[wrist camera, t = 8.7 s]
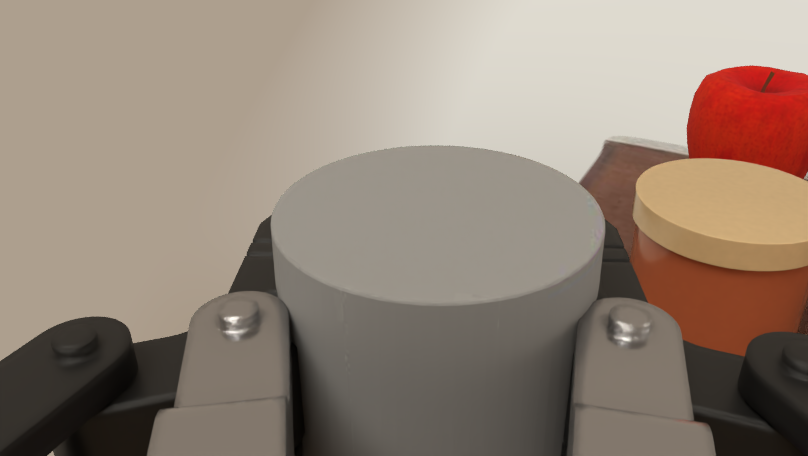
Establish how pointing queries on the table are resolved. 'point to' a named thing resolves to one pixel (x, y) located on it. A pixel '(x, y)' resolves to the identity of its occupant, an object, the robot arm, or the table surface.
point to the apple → (752, 118)
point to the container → (436, 300)
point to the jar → (722, 249)
